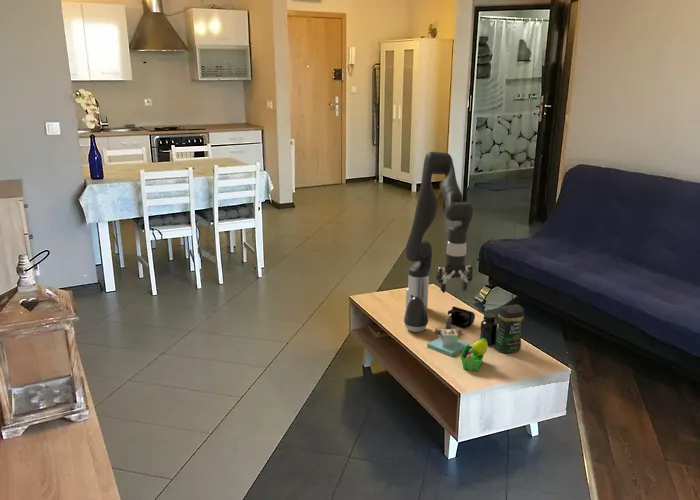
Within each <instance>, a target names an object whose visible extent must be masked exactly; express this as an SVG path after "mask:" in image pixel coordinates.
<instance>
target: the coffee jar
mask: <svg viewBox="0 0 700 500" xmlns="http://www.w3.org/2000/svg"><path fill="white" fill-rule="evenodd" d="M524 310H525V309H524V307H523V306H521V305H520V304H519V303H516V304H510V305H503V306H501V305H500V306H499V307H498V312H497V316H498V332H497V337H496V342H495V345H494V347H495V349H496V350H497V351H498V352H501V353H502V354H503V353H504V354H509V353H517V352H520V351H521V347H522V341H521V339H522V333H521V332H522V324H523V323H522V322H523V320H524V317H525V311H524Z"/></svg>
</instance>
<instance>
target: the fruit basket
mask: <svg viewBox="0 0 700 500" xmlns="http://www.w3.org/2000/svg"><path fill="white" fill-rule="evenodd" d="M487 347H488V343H487V340H486V339H484V338H482V339H480V338H479V340H477V341H475V342H473V343H472V345H470V346H466V347H465V349H464V350H463V351H462V353H461V355H460V360H461V363H462V368H463V370H467V371H468V370H469V371H474V372H478V370H479V368H480V366H481V364H482V361H483V358H484V357H485V356H484V355H485V354H486V352H487V349H488V348H487Z"/></svg>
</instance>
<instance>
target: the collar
mask: <svg viewBox="0 0 700 500" xmlns="http://www.w3.org/2000/svg"><path fill="white" fill-rule="evenodd" d="M447 330H451V331H452V334H446V331H447ZM439 338H440V342H441V345H442V347H458V340H459V335H458V334H457V332H456V329H441V331H440V335H439Z"/></svg>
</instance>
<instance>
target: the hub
mask: <svg viewBox="0 0 700 500" xmlns="http://www.w3.org/2000/svg"><path fill="white" fill-rule="evenodd" d="M446 334H452V331H451V330H447V331H446ZM426 346H427V348H429V349H432V350H434V351H437V352H439V353H441V354H444V355H446V356H450V357H454V356H456V355H458V354H460V353H461V352H462V353H463V351H464V349H465V347H466V346H471V343H468V342H466V341H463V340H460V339H458V347H442V345H441V342H440V337H438V338H436V339H434V340H432V341H430V342H428V343H427V345H426Z"/></svg>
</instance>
